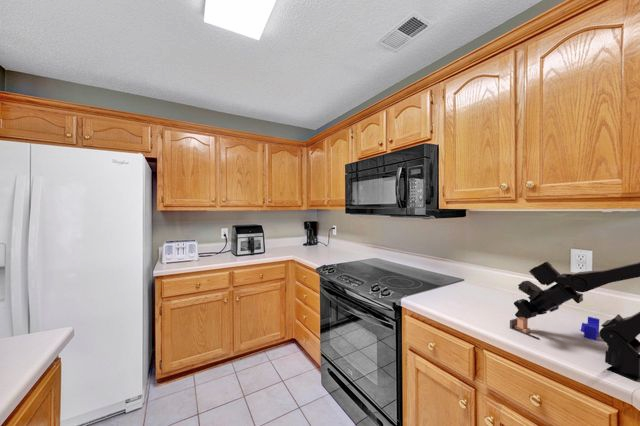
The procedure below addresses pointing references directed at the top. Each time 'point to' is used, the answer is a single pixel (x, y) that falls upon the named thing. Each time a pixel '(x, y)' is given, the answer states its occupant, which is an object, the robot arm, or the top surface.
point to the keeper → (522, 324)
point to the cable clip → (591, 328)
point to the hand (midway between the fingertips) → (518, 315)
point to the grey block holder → (512, 324)
